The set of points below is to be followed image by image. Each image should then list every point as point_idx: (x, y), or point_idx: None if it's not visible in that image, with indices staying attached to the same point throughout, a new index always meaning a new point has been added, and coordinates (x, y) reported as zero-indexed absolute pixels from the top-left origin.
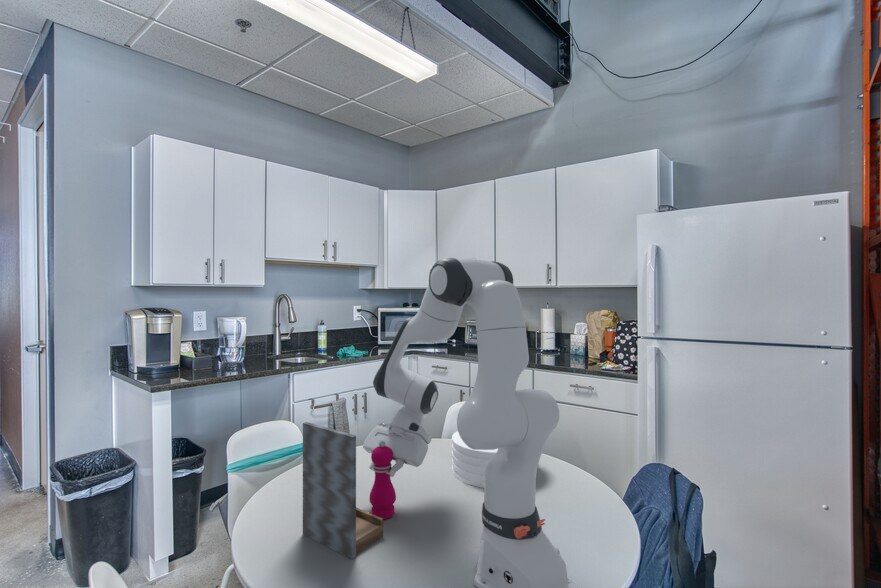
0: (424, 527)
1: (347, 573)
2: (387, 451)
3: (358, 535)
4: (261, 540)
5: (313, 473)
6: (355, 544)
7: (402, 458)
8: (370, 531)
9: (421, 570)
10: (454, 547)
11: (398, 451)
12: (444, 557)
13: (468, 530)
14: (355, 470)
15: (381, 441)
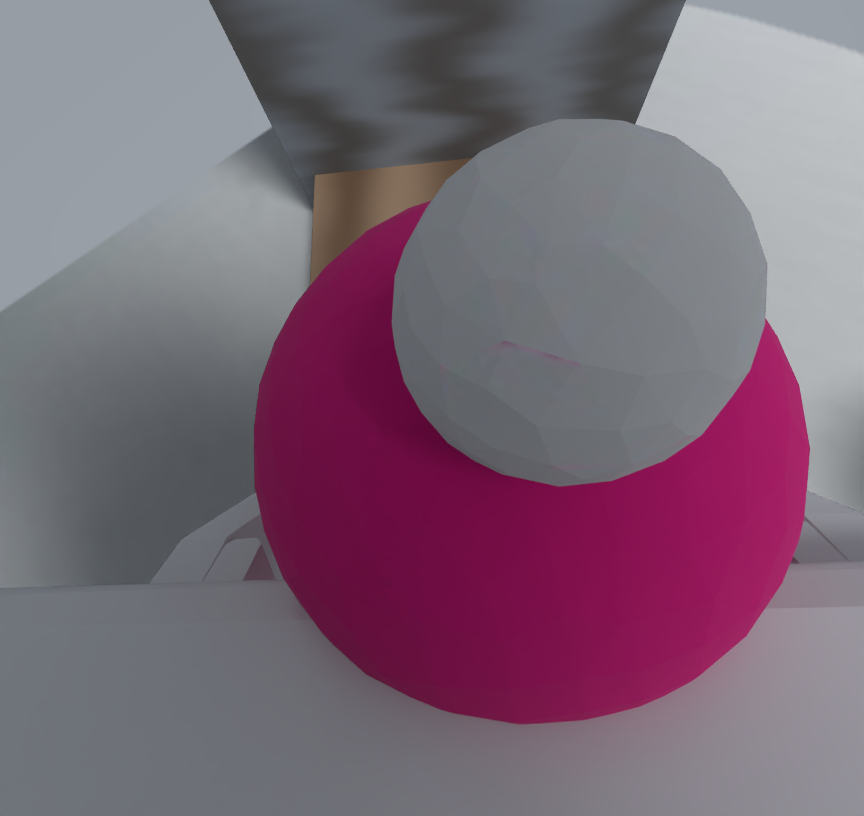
0: None
1: (277, 155)
2: (273, 381)
3: (335, 216)
4: (681, 63)
5: None
6: (297, 174)
7: (42, 588)
8: (314, 265)
9: (78, 308)
10: (24, 496)
11: (120, 705)
12: (35, 415)
13: None
14: None
15: (569, 143)
